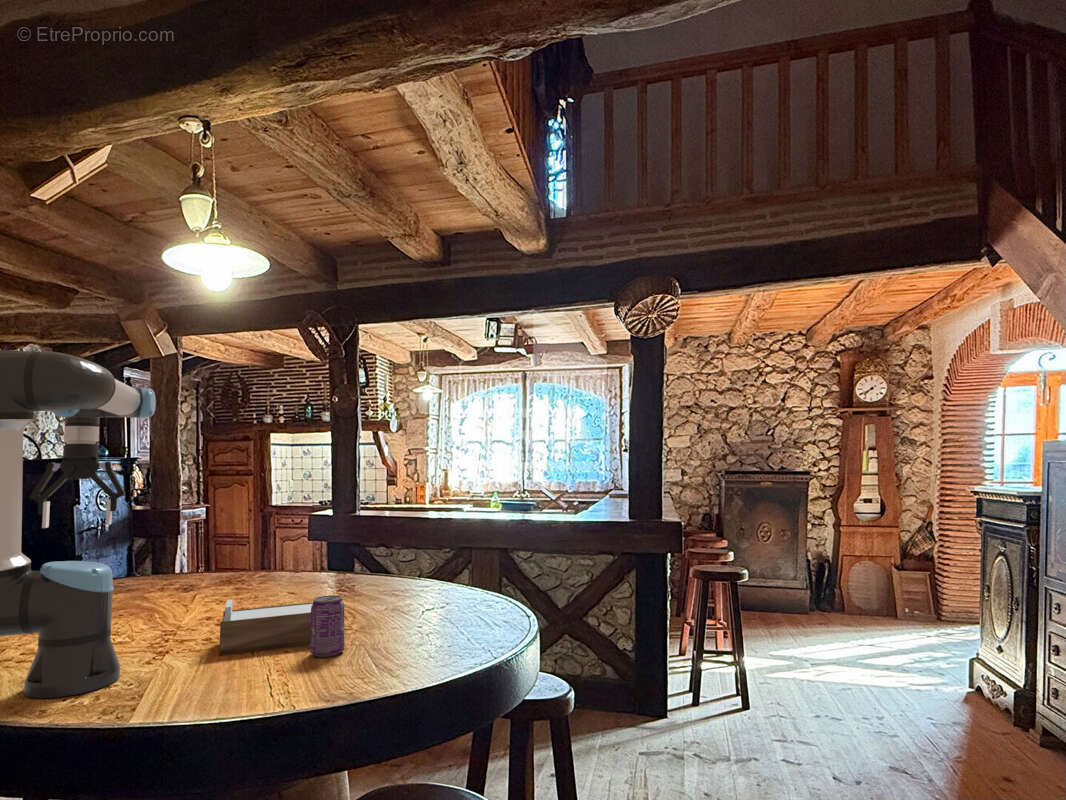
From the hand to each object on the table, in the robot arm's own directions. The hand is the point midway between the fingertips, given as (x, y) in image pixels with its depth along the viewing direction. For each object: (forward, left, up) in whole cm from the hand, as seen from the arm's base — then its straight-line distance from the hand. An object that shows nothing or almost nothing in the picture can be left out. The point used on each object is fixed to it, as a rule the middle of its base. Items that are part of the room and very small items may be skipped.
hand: (77, 526), depth 167 cm
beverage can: (-47, -58, -27) cm, 79 cm away
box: (-32, -47, -27) cm, 63 cm away
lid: (-32, -47, -21) cm, 60 cm away
